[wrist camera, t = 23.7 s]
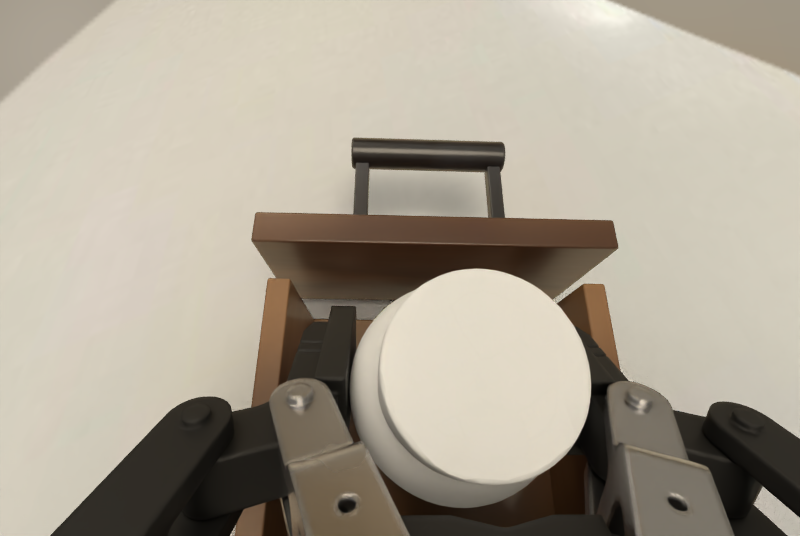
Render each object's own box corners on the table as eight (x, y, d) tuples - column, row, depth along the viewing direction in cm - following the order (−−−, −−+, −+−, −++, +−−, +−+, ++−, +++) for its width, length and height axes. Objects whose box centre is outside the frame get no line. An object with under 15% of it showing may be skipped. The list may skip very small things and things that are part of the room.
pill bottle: (522, 409, 17) (688, 376, 8) (426, 515, 15) (498, 626, 6) (428, 313, 18) (478, 189, 9) (331, 401, 17) (277, 357, 8)
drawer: (300, 188, 24) (271, 98, 17) (535, 194, 24) (590, 109, 18) (261, 565, 17) (190, 642, 11) (585, 562, 17) (701, 634, 11)
